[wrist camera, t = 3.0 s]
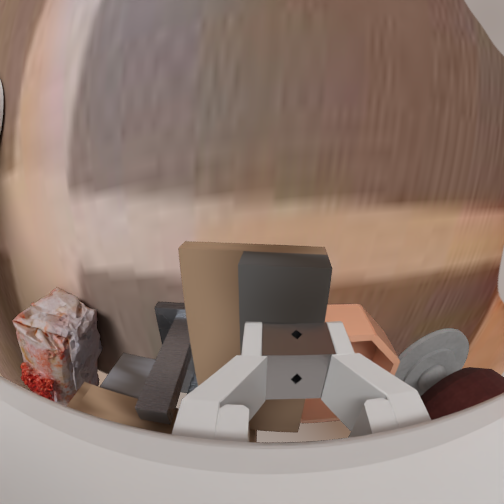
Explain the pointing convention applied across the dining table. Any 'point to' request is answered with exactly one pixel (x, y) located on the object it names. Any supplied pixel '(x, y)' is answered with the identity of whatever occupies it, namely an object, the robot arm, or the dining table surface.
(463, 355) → the mate gourd
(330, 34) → the dining table surface
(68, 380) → the food item
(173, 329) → the chute stand
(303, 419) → the octagonal bowl
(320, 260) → the tipping chute
